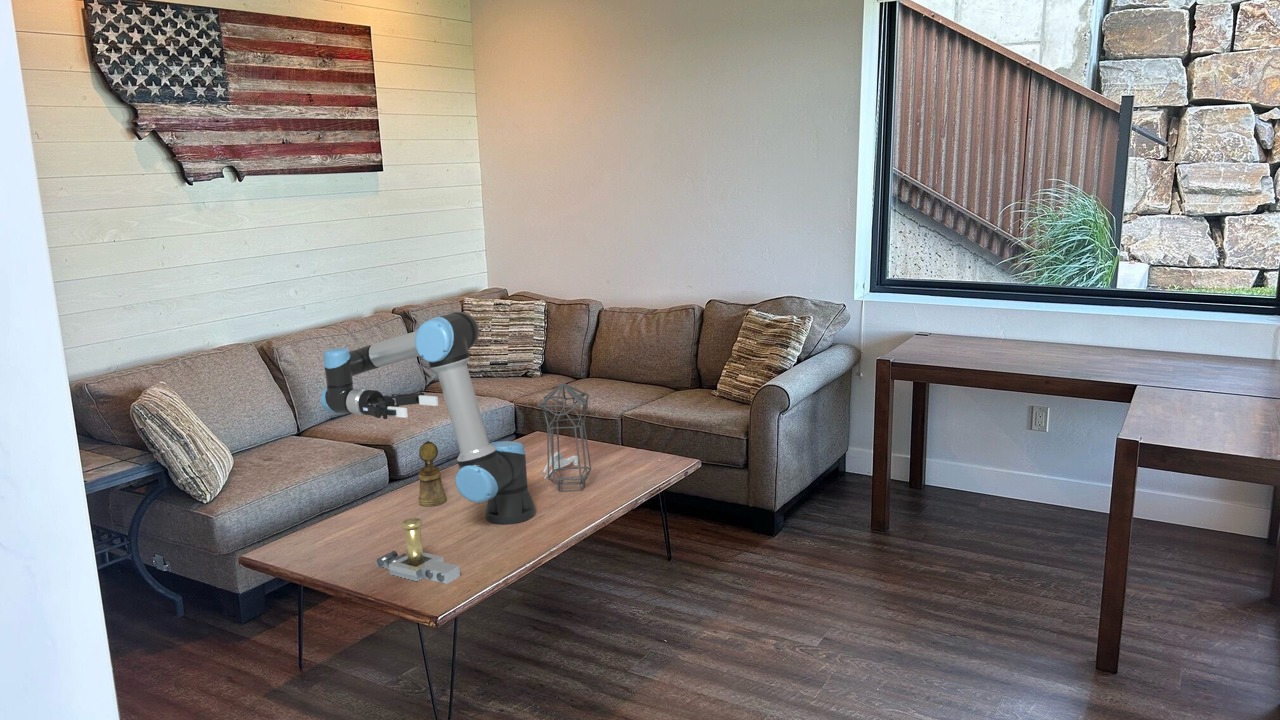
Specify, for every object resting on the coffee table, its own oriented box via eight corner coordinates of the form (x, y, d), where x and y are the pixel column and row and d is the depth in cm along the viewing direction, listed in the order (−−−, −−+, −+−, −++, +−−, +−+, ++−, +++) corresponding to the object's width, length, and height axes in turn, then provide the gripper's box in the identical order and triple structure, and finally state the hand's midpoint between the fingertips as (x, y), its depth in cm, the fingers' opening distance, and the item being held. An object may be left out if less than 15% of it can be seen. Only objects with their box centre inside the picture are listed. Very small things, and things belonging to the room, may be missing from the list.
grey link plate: (368, 569, 250) (367, 559, 249) (396, 555, 258) (395, 545, 257) (439, 587, 236) (438, 576, 235) (466, 572, 244) (465, 562, 244)
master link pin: (427, 566, 250) (422, 517, 247) (425, 574, 245) (420, 523, 242) (408, 568, 249) (402, 519, 246) (406, 576, 244) (400, 525, 241)
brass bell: (447, 491, 310) (442, 439, 306) (446, 504, 297) (441, 450, 293) (419, 494, 308) (414, 442, 304) (418, 507, 295) (412, 453, 291)
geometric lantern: (544, 495, 300) (535, 390, 294) (551, 481, 316) (543, 380, 310) (593, 493, 299) (584, 387, 293) (597, 478, 315) (589, 377, 309)
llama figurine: (554, 494, 319) (580, 461, 332) (544, 469, 313) (571, 436, 326) (549, 494, 320) (576, 461, 332) (539, 469, 314) (567, 436, 327)
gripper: (395, 404, 288) (450, 408, 279) (337, 425, 266) (394, 431, 257) (393, 380, 287) (448, 384, 277) (333, 400, 265) (391, 404, 255)
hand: (422, 406), depth 267 cm, fingers open, 13 cm apart
